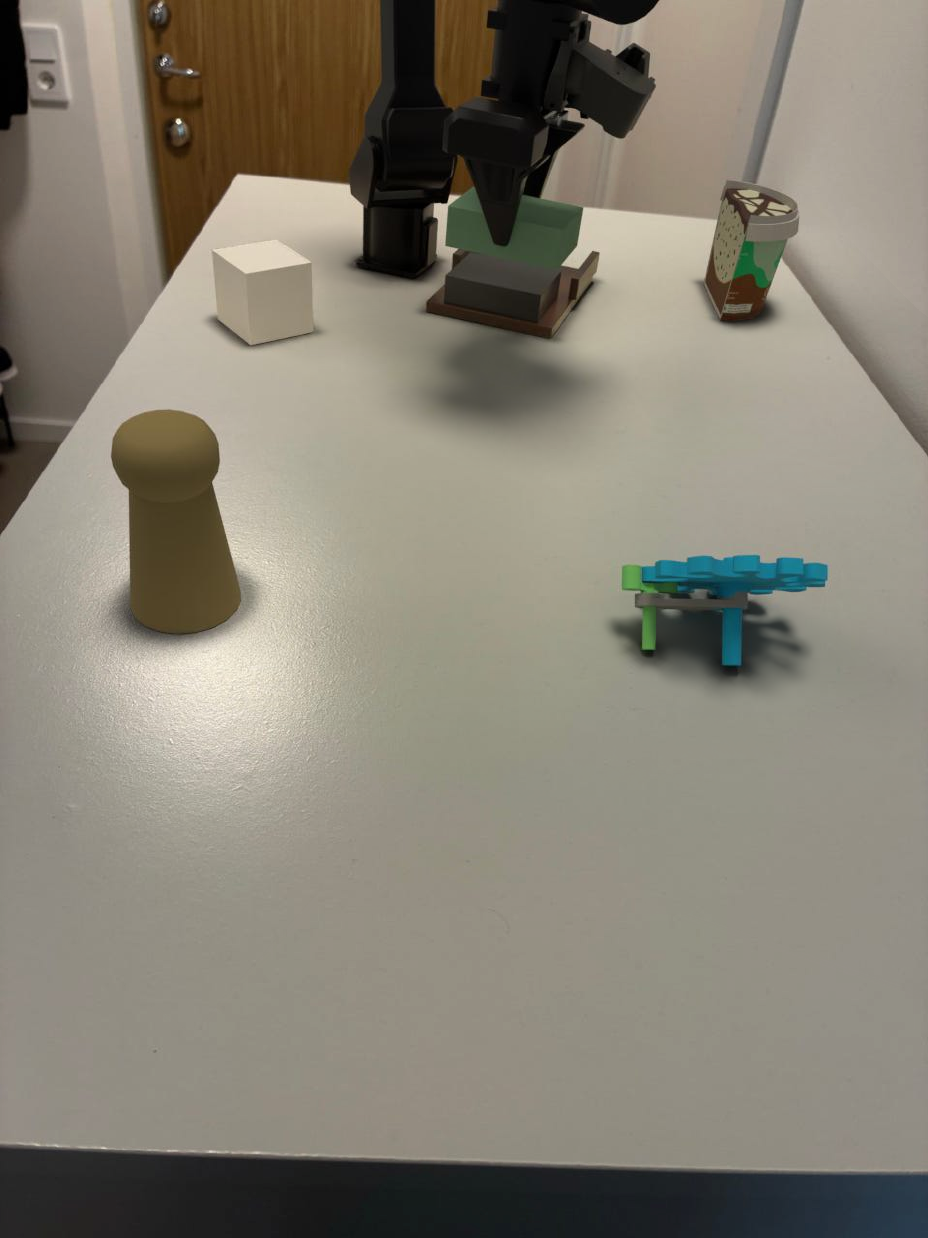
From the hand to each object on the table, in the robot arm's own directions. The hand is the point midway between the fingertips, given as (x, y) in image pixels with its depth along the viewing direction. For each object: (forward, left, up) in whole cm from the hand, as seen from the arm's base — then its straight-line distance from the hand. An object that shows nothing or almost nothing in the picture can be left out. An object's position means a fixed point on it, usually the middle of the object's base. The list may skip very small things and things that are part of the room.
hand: (513, 232), depth 74 cm
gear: (+22, -28, -11) cm, 37 cm away
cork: (-6, -38, -11) cm, 40 cm away
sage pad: (0, 0, -1) cm, 1 cm away
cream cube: (-20, -3, -11) cm, 23 cm away
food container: (+18, +25, -11) cm, 32 cm away
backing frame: (-3, +15, -11) cm, 18 cm away
